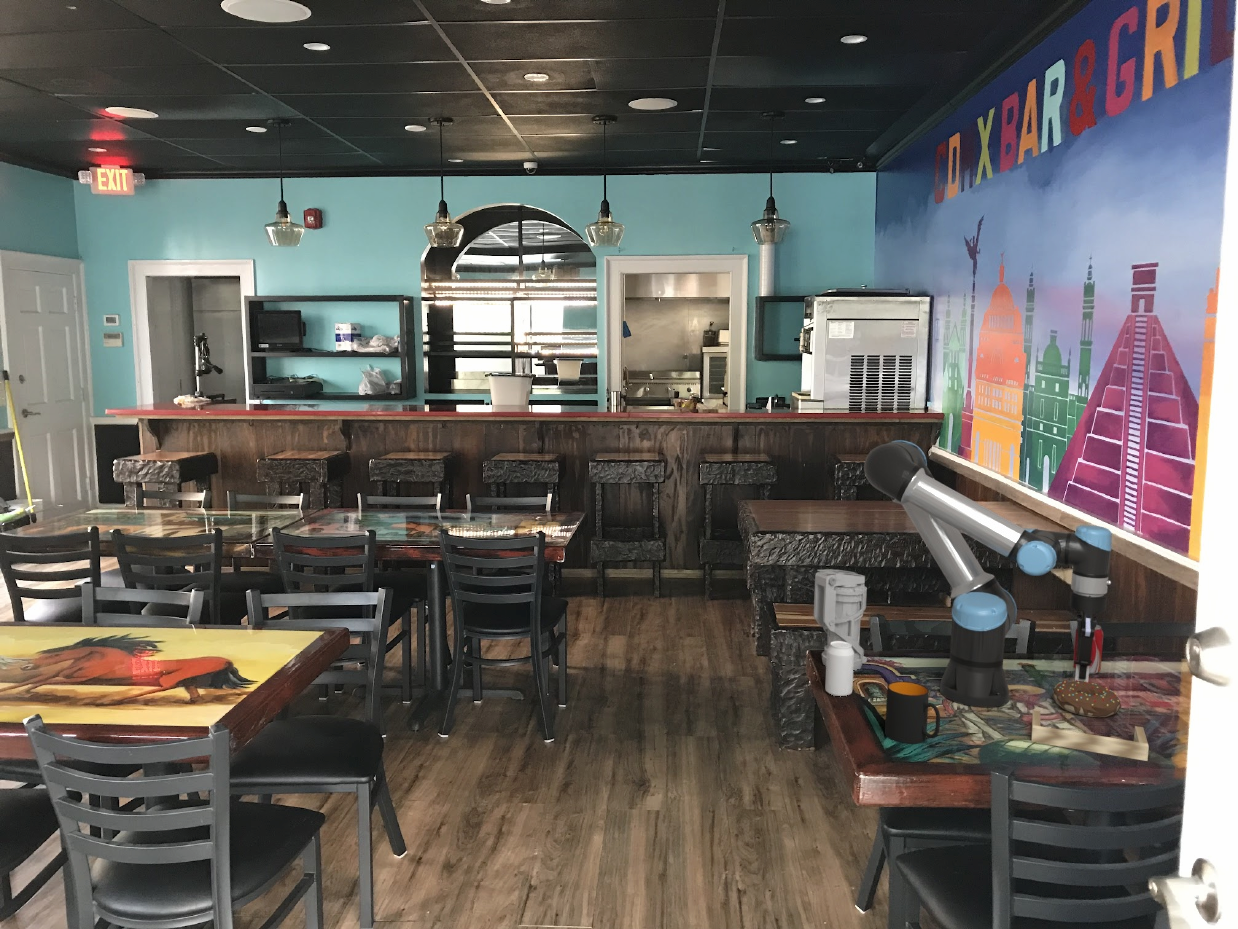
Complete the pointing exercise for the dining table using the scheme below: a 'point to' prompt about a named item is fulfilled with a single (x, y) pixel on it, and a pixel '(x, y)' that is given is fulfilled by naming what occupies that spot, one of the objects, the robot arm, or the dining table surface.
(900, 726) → the mug
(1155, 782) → the dining table surface
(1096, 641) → the beverage can
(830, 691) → the beverage can
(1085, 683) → the donut
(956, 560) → the robot arm
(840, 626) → the grey mechanical part
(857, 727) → the dining table surface
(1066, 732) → the oak rail
